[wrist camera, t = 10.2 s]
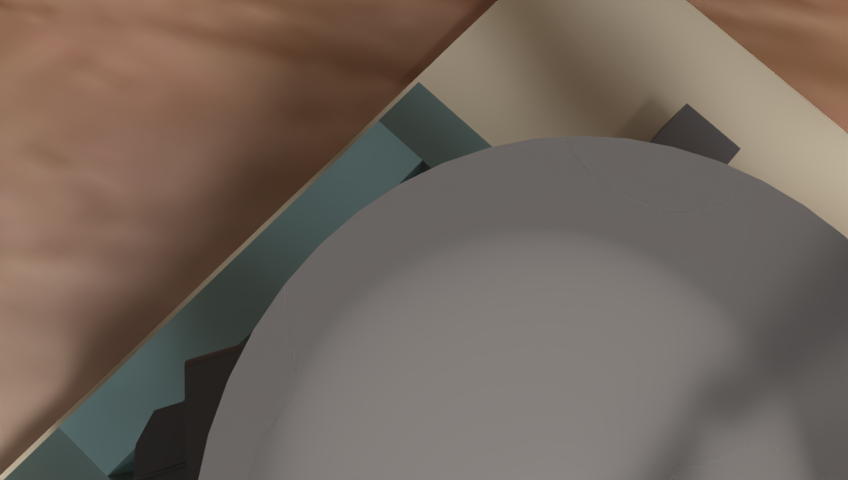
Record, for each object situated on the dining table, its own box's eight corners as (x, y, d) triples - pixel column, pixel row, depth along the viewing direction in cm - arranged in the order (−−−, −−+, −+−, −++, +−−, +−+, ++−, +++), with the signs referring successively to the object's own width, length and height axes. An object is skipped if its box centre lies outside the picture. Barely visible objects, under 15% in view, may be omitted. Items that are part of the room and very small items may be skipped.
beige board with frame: (568, -48, 21) (619, -158, 17) (905, 233, 19) (1042, 185, 16) (-7, 507, 16) (-123, 534, 12) (402, 932, 14) (421, 1117, 10)
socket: (424, 274, 15) (564, -16, 5) (616, 450, 14) (1168, 492, 5) (238, 470, 13) (-38, 570, 4) (443, 673, 13) (714, 1373, 3)
